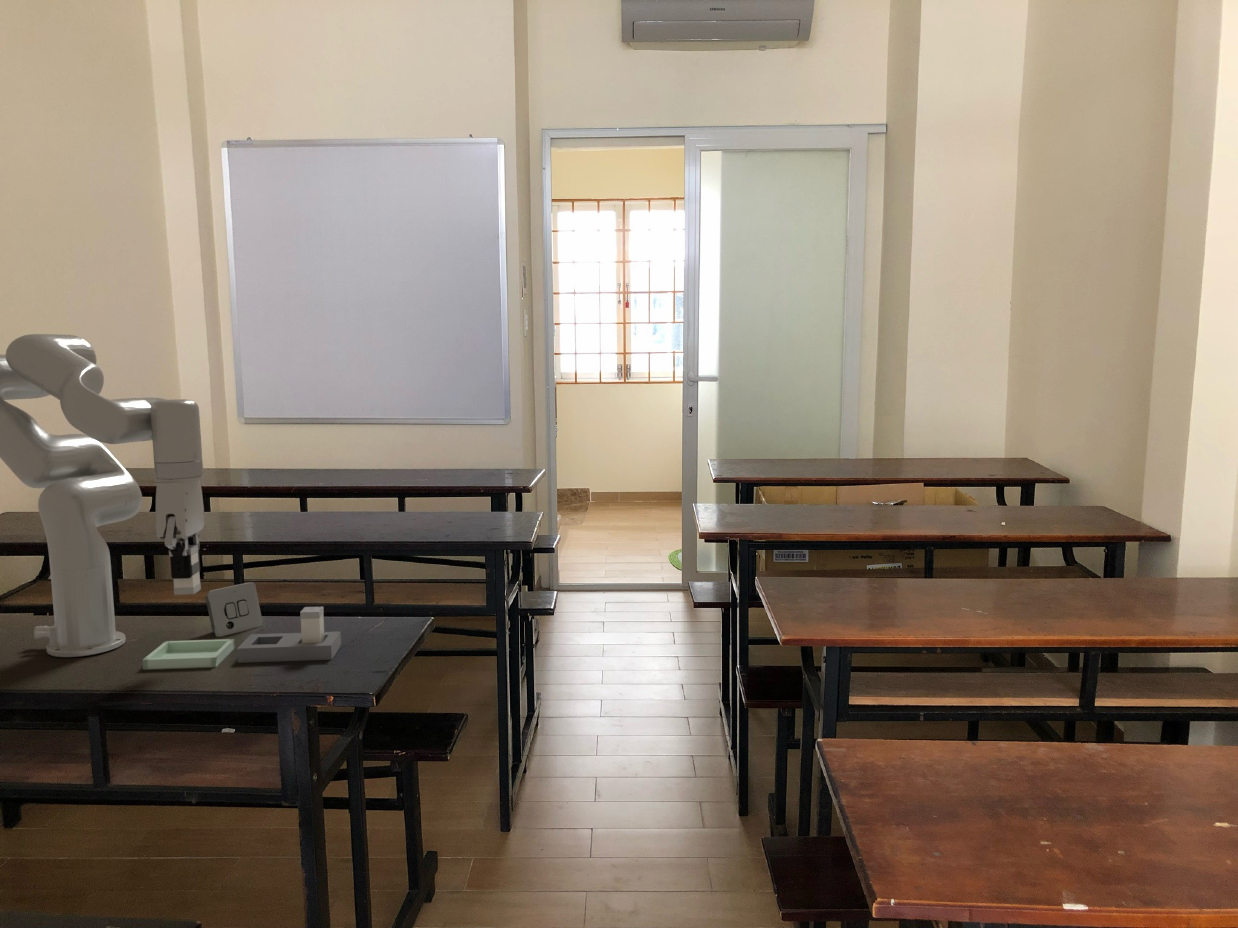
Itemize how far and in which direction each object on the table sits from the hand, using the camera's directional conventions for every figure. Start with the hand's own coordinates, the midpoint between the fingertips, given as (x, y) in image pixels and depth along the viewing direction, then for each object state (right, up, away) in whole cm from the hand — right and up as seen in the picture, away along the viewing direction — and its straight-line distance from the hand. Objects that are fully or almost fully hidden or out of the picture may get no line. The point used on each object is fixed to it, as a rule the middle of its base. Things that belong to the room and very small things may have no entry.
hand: (186, 574), depth 156 cm
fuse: (+21, -15, +5) cm, 26 cm away
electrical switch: (0, -14, +19) cm, 23 cm away
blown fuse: (0, -3, 0) cm, 3 cm away
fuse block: (+17, -15, +5) cm, 23 cm away
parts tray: (0, -16, +2) cm, 16 cm away
